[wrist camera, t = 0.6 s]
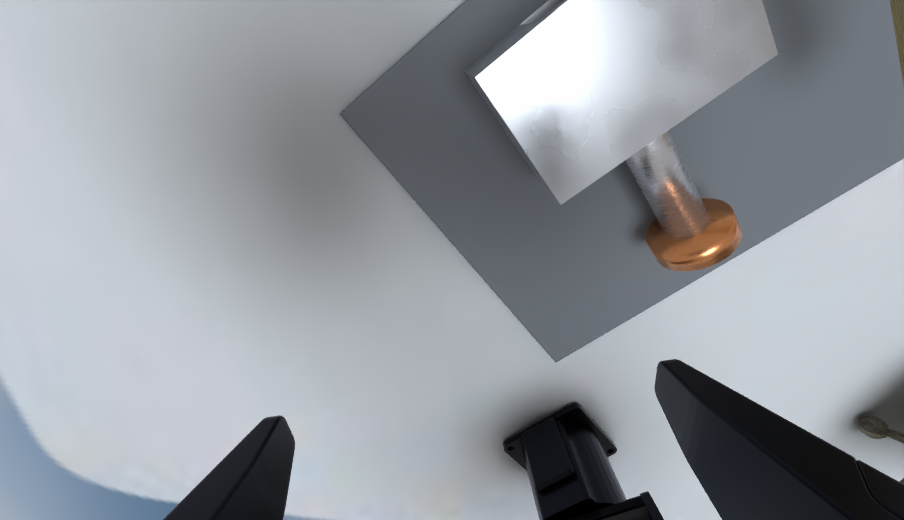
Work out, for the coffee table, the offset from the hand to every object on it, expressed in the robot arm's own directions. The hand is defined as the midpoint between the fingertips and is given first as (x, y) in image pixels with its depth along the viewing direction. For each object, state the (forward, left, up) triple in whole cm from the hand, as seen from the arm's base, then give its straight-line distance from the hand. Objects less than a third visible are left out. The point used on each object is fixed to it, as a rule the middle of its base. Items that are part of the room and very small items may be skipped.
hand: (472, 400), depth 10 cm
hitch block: (+2, -9, -13) cm, 16 cm away
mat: (-3, -11, -13) cm, 17 cm away
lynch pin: (-2, -9, -12) cm, 16 cm away
